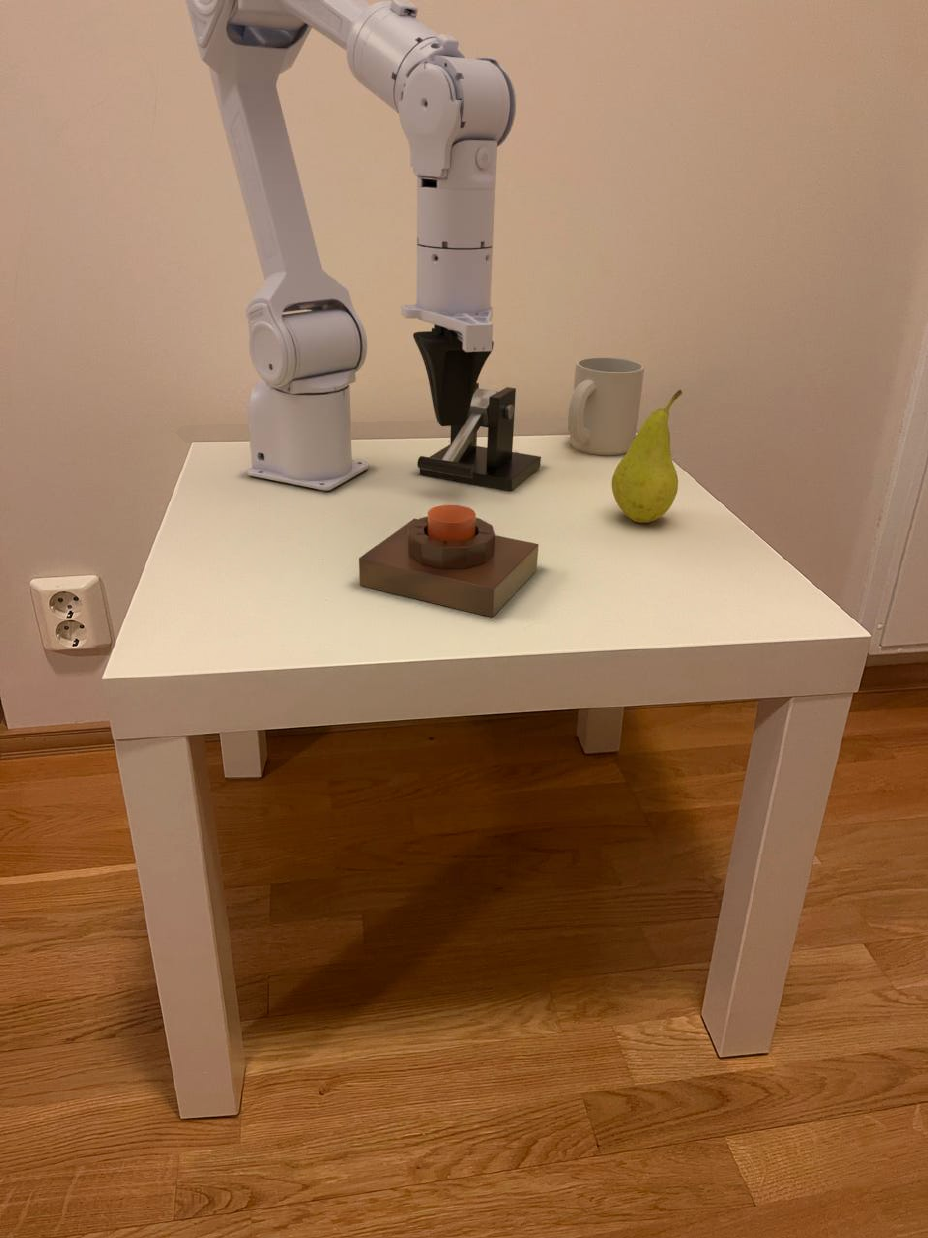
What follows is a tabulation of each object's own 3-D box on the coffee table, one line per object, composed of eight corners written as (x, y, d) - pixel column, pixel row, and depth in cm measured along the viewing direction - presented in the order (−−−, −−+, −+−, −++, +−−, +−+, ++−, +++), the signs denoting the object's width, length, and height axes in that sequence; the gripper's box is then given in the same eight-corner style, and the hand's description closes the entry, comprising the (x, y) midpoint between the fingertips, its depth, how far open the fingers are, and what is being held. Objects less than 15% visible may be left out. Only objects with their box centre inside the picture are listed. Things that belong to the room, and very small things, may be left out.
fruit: (598, 509, 84) (612, 379, 78) (657, 506, 85) (675, 377, 79) (621, 534, 79) (638, 396, 73) (683, 529, 80) (704, 394, 75)
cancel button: (419, 538, 68) (419, 516, 67) (440, 522, 71) (440, 501, 70) (462, 547, 67) (463, 525, 66) (482, 530, 69) (483, 509, 69)
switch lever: (472, 485, 84) (468, 465, 82) (419, 475, 86) (415, 456, 84) (515, 412, 90) (513, 392, 88) (465, 405, 92) (461, 385, 90)
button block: (359, 585, 69) (357, 536, 67) (414, 543, 76) (414, 498, 74) (492, 618, 65) (495, 567, 63) (537, 570, 72) (540, 523, 70)
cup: (646, 446, 101) (657, 365, 97) (596, 466, 95) (604, 380, 90) (593, 432, 106) (600, 354, 101) (541, 450, 99) (546, 368, 95)
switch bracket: (511, 491, 88) (516, 406, 84) (419, 474, 91) (419, 391, 87) (540, 467, 94) (546, 387, 90) (453, 452, 98) (455, 374, 94)
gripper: (383, 234, 73) (385, 402, 79) (425, 257, 61) (423, 453, 67) (468, 234, 75) (463, 398, 81) (524, 257, 63) (514, 448, 69)
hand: (451, 423), depth 74 cm, fingers closed
